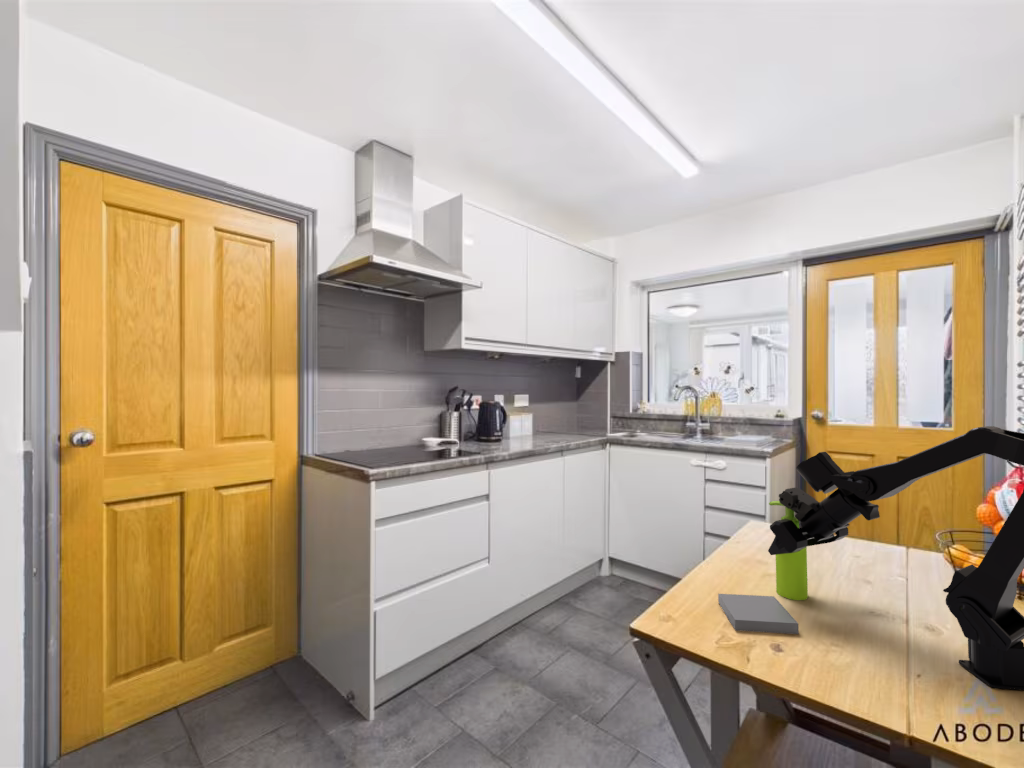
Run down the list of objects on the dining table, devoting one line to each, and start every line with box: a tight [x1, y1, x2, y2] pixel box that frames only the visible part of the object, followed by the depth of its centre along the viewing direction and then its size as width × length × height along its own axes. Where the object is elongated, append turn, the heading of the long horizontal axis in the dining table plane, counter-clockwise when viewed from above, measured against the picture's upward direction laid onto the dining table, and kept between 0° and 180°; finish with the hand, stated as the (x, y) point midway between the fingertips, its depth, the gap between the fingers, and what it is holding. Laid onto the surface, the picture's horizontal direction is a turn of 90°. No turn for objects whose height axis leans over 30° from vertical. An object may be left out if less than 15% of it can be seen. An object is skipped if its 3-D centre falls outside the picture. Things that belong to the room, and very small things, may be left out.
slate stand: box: [717, 593, 799, 635], centre depth 91 cm, size 11×11×2 cm
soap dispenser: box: [768, 500, 809, 601], centre depth 101 cm, size 6×7×20 cm
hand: (783, 549), depth 102 cm, fingers open, 9 cm apart
